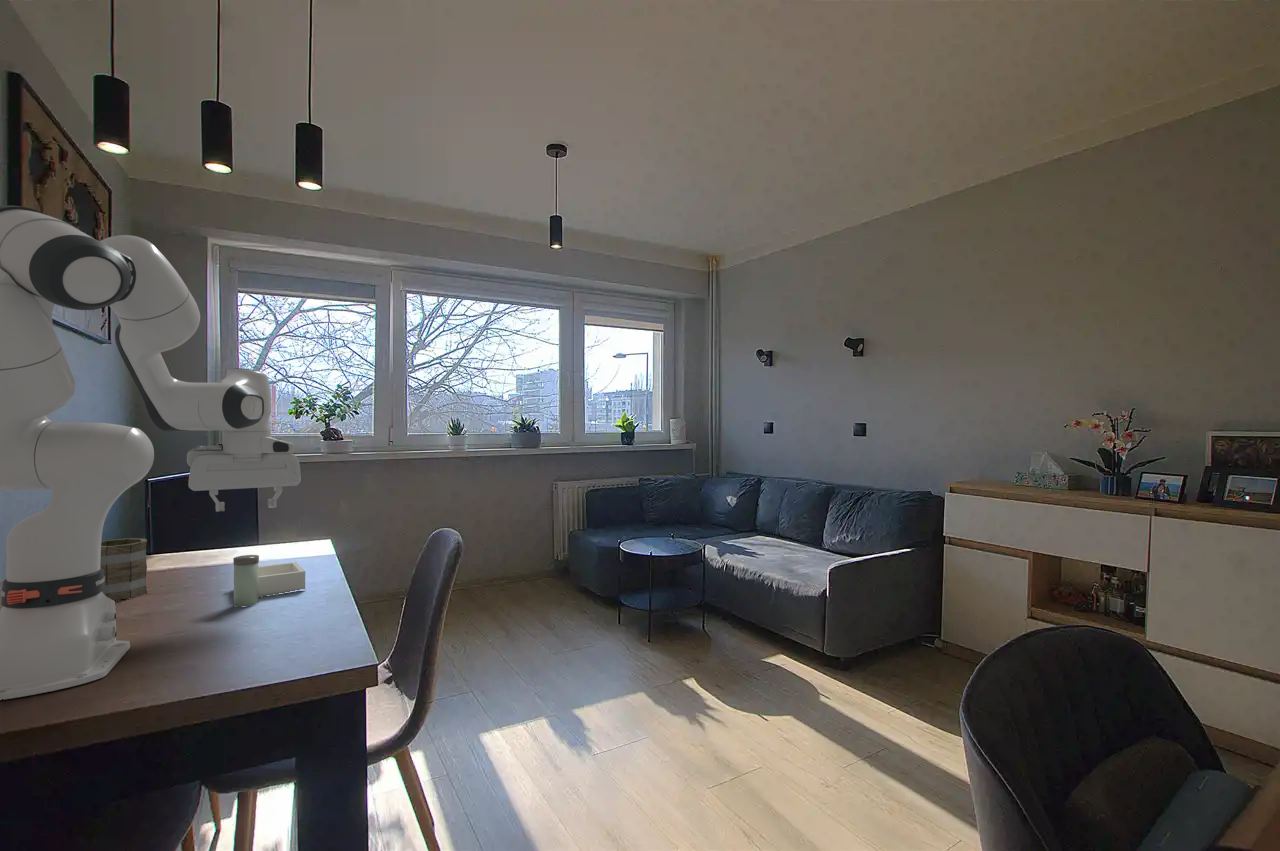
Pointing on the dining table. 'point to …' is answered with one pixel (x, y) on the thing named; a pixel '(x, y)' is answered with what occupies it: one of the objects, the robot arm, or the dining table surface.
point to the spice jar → (245, 580)
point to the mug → (124, 567)
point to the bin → (280, 578)
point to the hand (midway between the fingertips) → (246, 509)
